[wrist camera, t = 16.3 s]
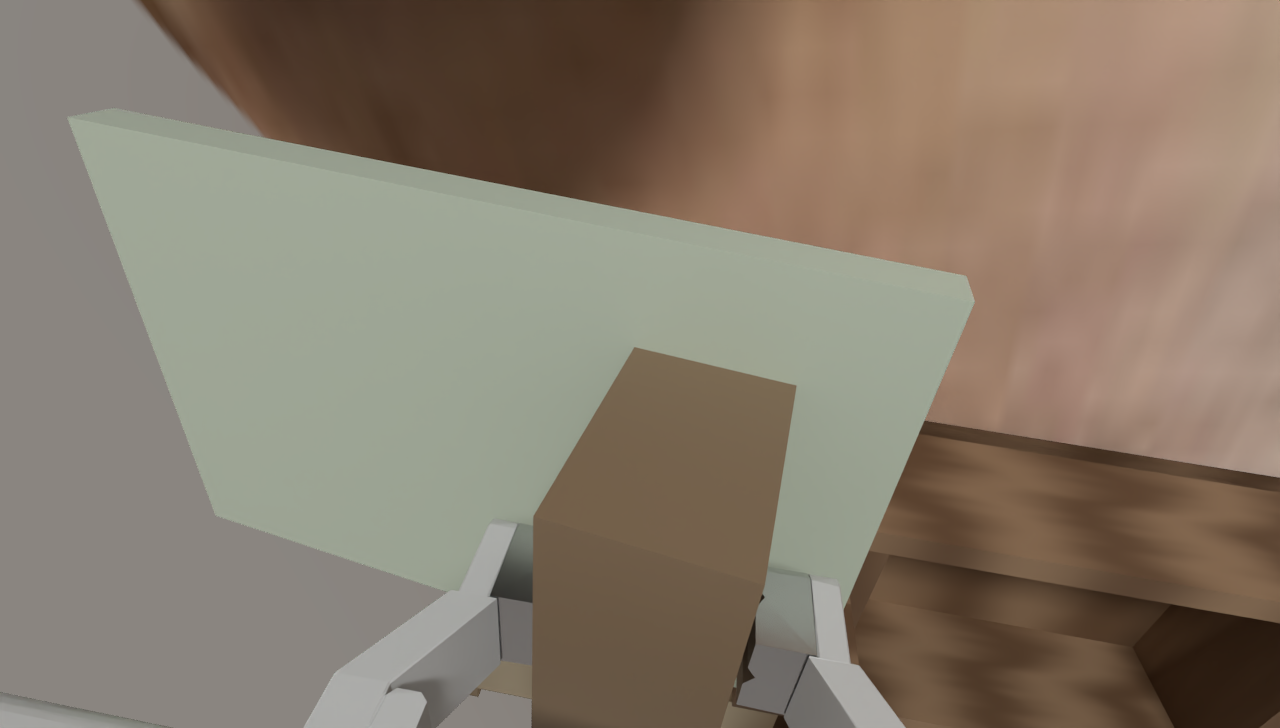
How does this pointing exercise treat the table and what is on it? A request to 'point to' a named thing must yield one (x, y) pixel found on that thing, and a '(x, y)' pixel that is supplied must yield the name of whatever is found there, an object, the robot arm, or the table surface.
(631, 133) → the table surface
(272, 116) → the table surface
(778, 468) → the lid
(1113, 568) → the chest
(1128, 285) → the table surface
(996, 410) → the table surface
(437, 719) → the robot arm
